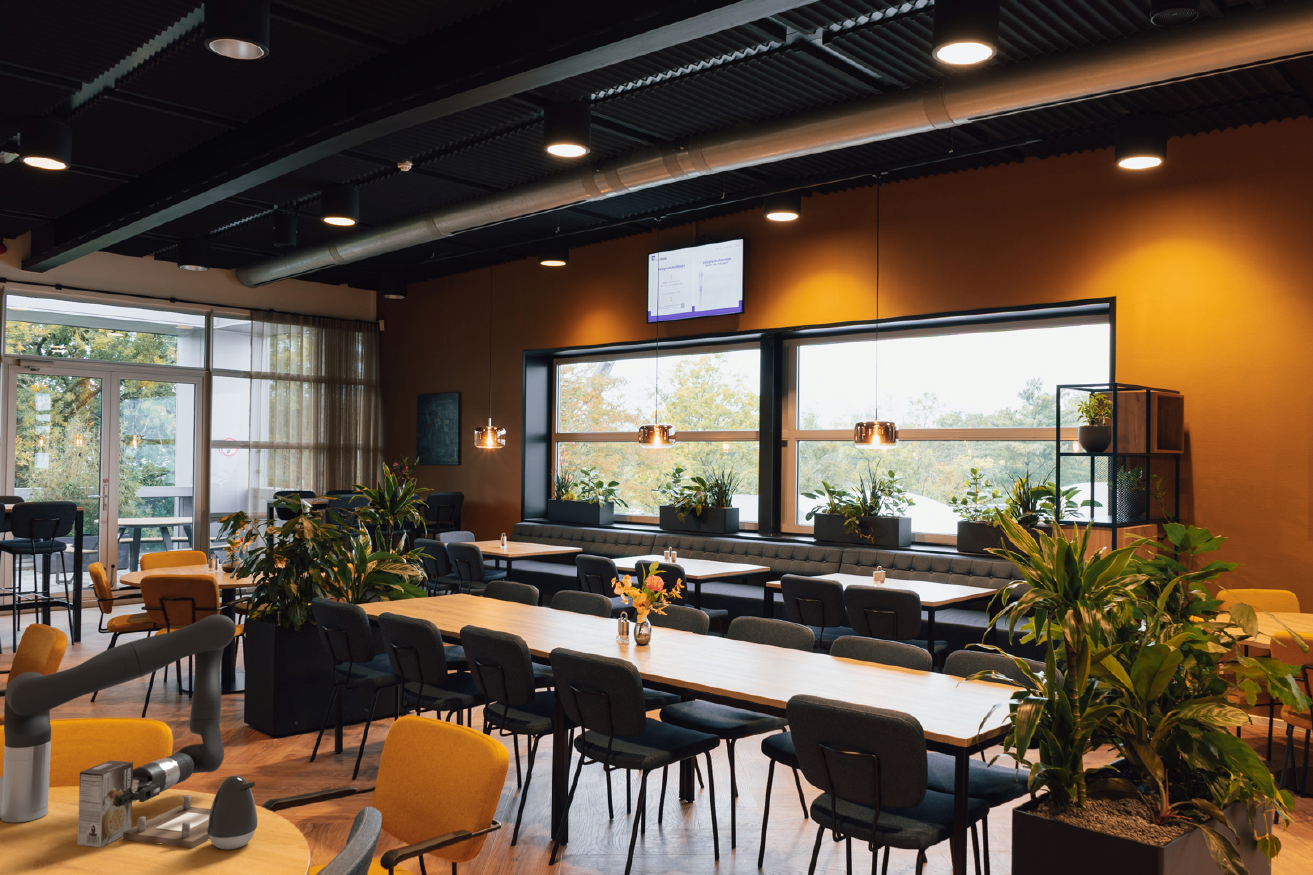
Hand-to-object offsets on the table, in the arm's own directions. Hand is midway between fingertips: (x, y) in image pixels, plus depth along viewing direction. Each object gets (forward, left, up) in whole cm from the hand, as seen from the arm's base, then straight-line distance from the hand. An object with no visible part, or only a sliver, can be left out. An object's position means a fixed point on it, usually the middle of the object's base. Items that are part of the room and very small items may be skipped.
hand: (100, 800), depth 214 cm
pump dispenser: (+29, +7, -9) cm, 31 cm away
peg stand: (+13, +12, -9) cm, 20 cm away
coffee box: (0, +2, -9) cm, 9 cm away
